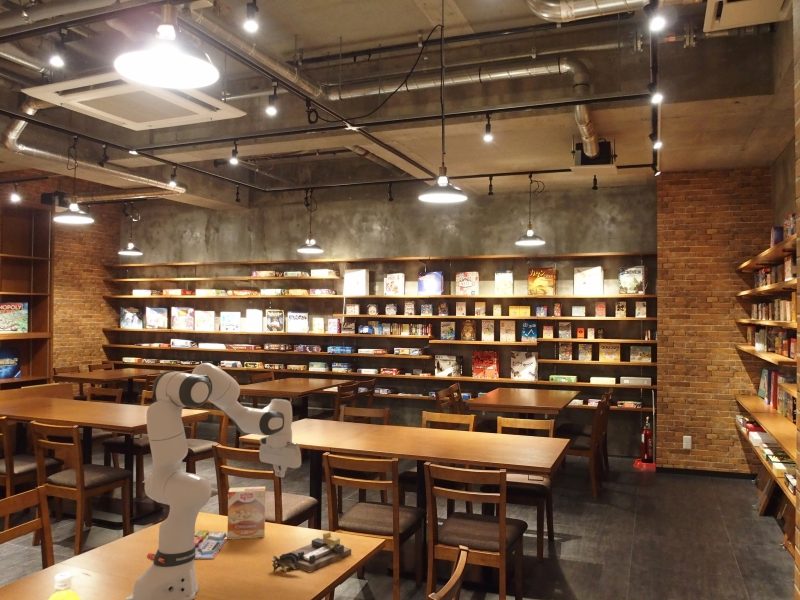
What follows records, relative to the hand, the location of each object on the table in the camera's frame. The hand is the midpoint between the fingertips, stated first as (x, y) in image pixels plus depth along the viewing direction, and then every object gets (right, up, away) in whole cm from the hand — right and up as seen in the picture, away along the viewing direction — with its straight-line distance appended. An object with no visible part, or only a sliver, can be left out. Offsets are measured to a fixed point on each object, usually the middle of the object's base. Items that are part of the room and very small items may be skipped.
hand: (279, 476), depth 243 cm
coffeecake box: (-17, -30, +18) cm, 39 cm away
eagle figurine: (+6, -29, -19) cm, 35 cm away
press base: (+15, -29, -6) cm, 33 cm away
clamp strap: (+17, -27, -8) cm, 33 cm away
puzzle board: (-35, -30, +6) cm, 47 cm away
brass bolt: (+20, -25, -3) cm, 32 cm away
